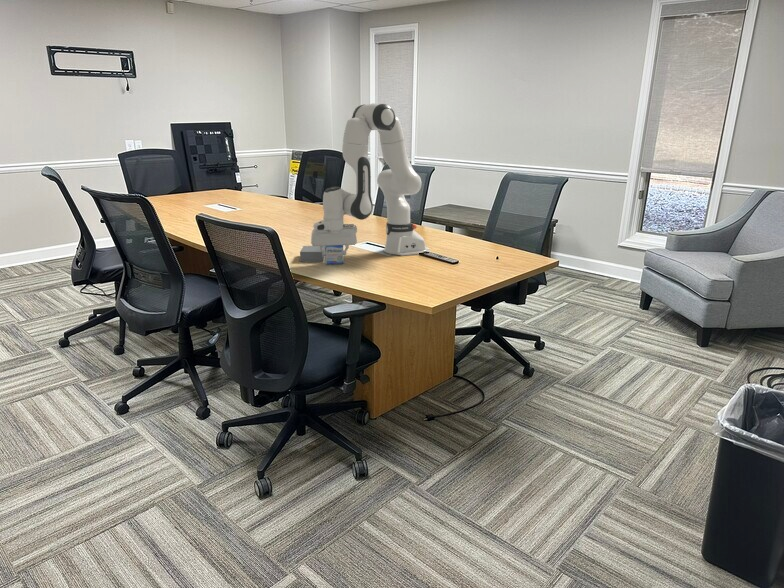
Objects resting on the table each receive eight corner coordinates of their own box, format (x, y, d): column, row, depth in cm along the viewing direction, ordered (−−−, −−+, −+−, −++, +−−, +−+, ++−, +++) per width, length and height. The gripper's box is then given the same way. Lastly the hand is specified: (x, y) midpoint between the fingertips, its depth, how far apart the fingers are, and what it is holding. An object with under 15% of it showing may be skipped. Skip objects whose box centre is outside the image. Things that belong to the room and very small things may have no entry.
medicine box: (326, 264, 243) (325, 245, 240) (325, 262, 247) (324, 243, 244) (343, 263, 245) (343, 245, 242) (342, 261, 249) (342, 242, 246)
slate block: (325, 256, 259) (324, 245, 258) (322, 262, 248) (322, 251, 246) (304, 256, 259) (303, 245, 258) (300, 262, 248) (300, 251, 246)
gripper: (355, 222, 246) (356, 252, 250) (310, 223, 241) (311, 254, 246) (358, 225, 240) (358, 255, 244) (311, 226, 236) (312, 257, 240)
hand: (334, 255), depth 245 cm, fingers closed on medicine box, 8 cm apart
